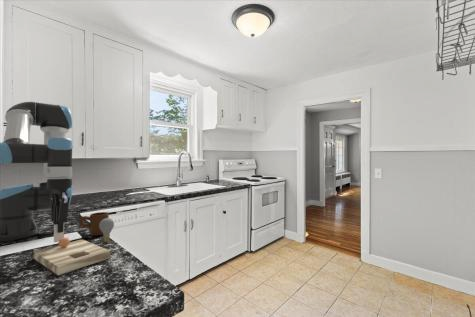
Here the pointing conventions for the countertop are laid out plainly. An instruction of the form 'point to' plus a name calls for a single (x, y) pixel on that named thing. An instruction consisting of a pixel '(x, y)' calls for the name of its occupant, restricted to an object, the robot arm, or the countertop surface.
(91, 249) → the wooden board with hole
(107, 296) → the countertop surface
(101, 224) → the light bulb
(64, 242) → the ball
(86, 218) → the mug
